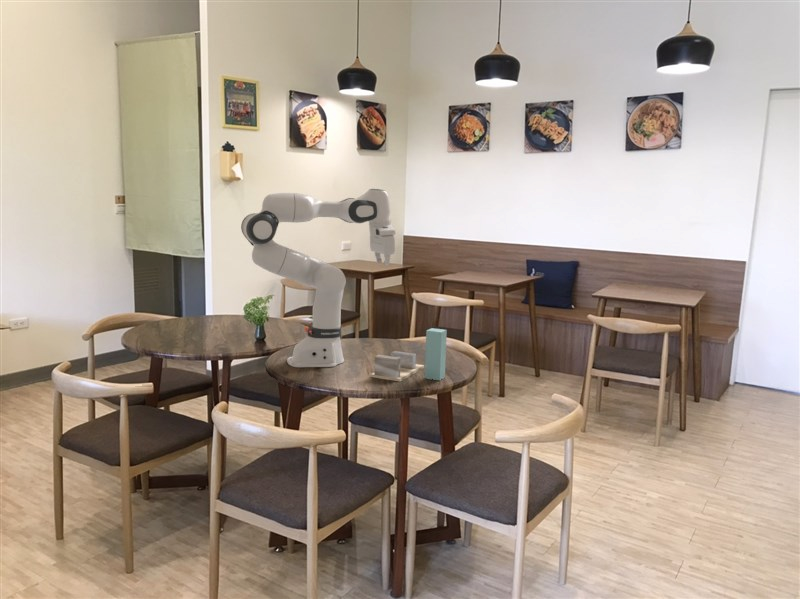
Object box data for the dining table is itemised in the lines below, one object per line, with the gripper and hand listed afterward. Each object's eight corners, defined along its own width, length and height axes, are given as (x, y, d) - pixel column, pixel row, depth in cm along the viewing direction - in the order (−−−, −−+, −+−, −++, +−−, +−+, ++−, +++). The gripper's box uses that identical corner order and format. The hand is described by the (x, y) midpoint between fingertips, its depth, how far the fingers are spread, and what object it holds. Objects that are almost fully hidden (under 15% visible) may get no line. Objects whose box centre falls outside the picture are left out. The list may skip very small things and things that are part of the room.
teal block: (429, 375, 240) (431, 328, 237) (444, 377, 238) (446, 329, 235) (424, 378, 236) (426, 330, 233) (439, 380, 233) (441, 332, 230)
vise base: (396, 363, 255) (397, 344, 254) (424, 367, 250) (424, 347, 249) (370, 376, 236) (371, 355, 234) (400, 381, 231) (400, 360, 229)
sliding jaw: (394, 363, 250) (394, 350, 249) (415, 366, 246) (416, 353, 245) (391, 365, 247) (391, 352, 246) (412, 368, 243) (412, 355, 243)
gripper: (365, 229, 264) (367, 262, 267) (381, 231, 245) (383, 267, 248) (379, 227, 266) (381, 260, 269) (396, 230, 247) (399, 265, 250)
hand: (383, 263), depth 258 cm, fingers open, 8 cm apart
